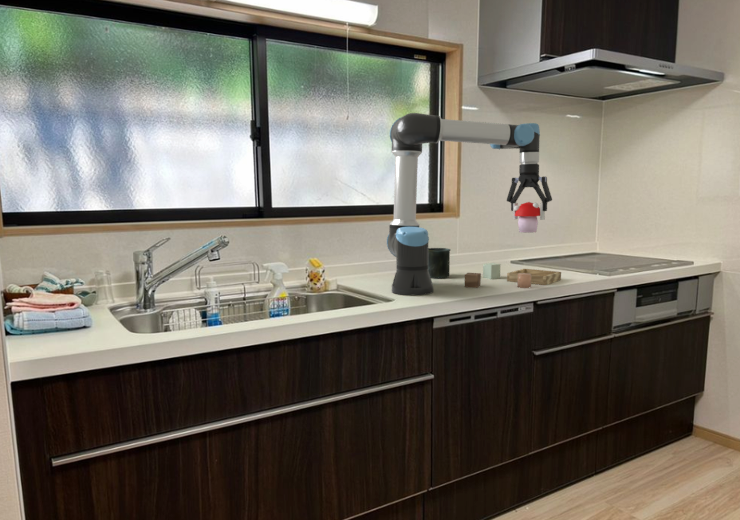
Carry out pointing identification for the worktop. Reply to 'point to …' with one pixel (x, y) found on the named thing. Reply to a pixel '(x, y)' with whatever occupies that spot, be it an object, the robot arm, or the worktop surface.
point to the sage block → (491, 271)
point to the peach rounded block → (524, 280)
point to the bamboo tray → (536, 276)
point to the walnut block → (473, 280)
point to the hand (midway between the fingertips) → (528, 219)
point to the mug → (438, 262)
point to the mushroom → (527, 217)
